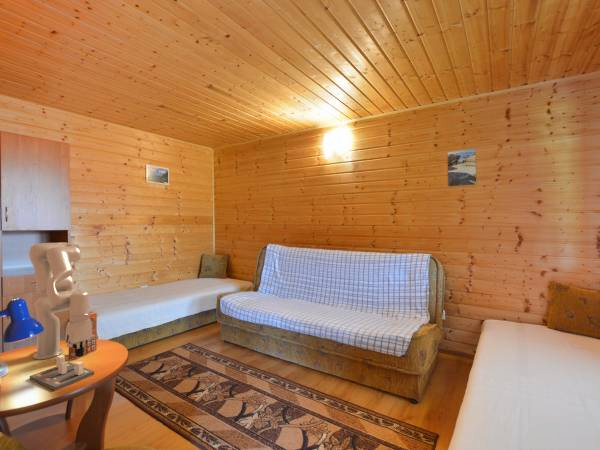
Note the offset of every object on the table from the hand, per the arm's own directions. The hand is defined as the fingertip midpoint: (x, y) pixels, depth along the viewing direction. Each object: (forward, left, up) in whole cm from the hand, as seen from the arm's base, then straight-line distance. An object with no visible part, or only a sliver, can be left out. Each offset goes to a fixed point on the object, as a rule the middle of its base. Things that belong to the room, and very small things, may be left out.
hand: (79, 355), depth 150 cm
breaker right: (+7, -4, -5) cm, 9 cm away
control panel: (-19, +12, -7) cm, 23 cm away
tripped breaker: (-1, -7, -5) cm, 9 cm away
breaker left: (-8, -4, -5) cm, 11 cm away
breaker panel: (-1, -7, -7) cm, 10 cm away
